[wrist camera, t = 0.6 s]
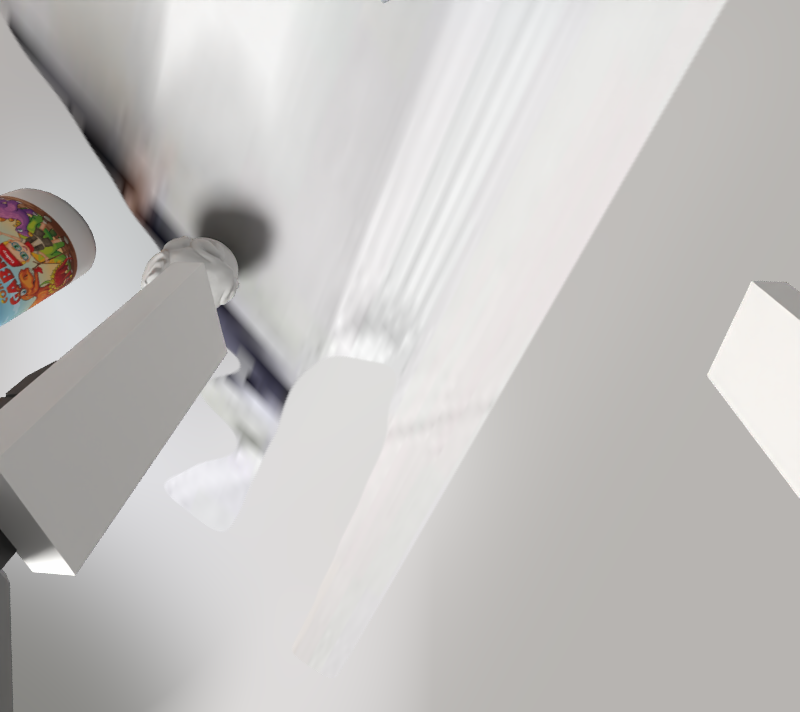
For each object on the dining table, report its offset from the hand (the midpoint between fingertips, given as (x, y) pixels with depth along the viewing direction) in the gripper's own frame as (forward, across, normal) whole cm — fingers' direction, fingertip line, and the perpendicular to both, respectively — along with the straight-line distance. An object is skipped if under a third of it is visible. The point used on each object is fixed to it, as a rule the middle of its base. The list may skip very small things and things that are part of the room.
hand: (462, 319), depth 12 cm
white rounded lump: (+25, -19, -10) cm, 33 cm away
